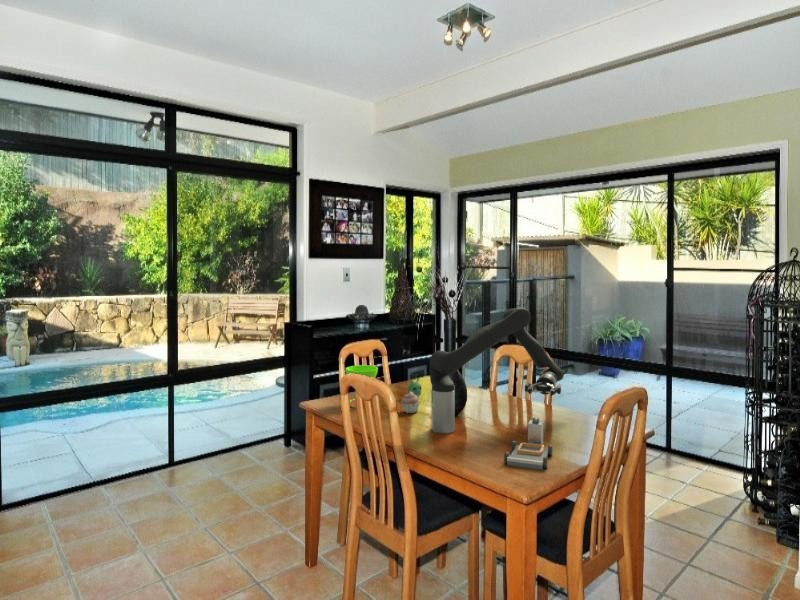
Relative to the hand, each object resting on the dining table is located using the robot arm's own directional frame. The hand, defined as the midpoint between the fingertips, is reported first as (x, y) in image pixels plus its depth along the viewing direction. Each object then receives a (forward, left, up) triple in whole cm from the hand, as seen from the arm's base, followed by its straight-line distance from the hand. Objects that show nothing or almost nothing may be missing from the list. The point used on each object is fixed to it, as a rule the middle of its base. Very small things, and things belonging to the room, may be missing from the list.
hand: (540, 392), depth 221 cm
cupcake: (-50, +40, -18) cm, 66 cm away
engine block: (-5, -10, -18) cm, 21 cm away
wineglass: (-73, +56, -18) cm, 93 cm away
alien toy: (-46, +66, -18) cm, 82 cm away
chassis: (-11, -24, -18) cm, 32 cm away
